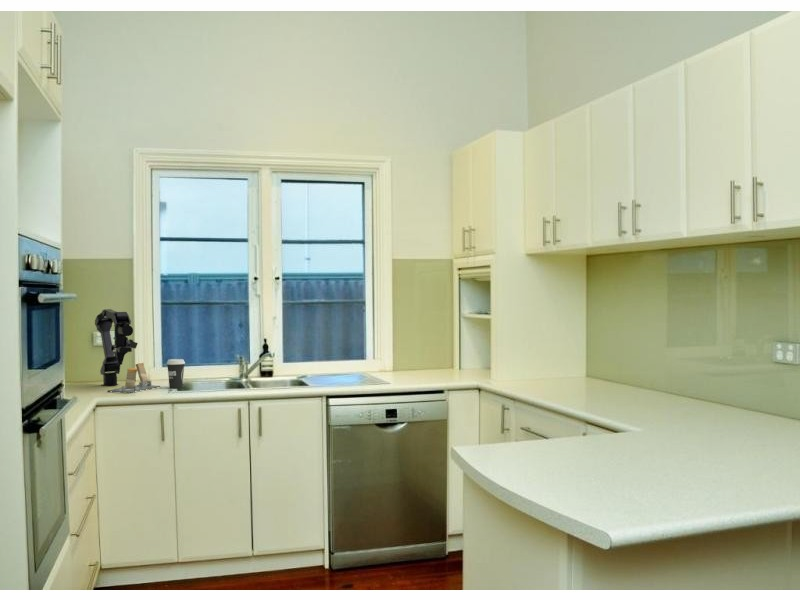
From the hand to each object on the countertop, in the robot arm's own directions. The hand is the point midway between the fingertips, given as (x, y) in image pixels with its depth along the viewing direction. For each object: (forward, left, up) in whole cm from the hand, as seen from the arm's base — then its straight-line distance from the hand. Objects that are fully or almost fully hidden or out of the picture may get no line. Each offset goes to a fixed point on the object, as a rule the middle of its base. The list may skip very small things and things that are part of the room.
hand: (120, 364), depth 355 cm
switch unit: (+11, -2, -12) cm, 17 cm away
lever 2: (+11, +6, -10) cm, 16 cm away
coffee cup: (+27, +11, -13) cm, 32 cm away
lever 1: (+15, -10, -10) cm, 21 cm away
